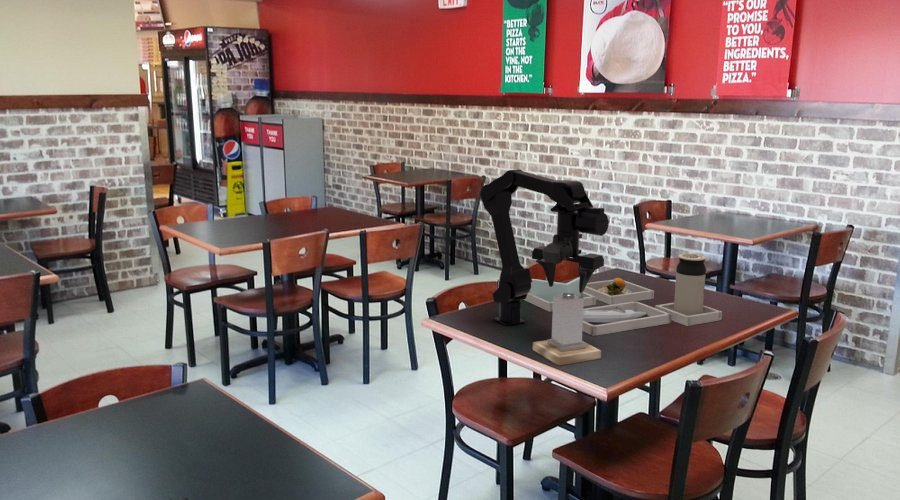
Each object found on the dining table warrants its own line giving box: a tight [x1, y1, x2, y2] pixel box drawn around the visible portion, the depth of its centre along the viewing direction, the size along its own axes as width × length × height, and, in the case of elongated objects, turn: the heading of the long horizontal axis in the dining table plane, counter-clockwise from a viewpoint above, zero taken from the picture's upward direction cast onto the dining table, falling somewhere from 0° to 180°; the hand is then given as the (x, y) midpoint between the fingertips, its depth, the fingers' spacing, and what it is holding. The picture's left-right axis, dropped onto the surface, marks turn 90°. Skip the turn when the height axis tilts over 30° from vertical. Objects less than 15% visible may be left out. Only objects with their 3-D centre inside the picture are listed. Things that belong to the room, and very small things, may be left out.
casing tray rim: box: [582, 301, 672, 337], centre depth 207 cm, size 15×27×2 cm, turn 116°
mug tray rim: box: [654, 302, 723, 327], centre depth 212 cm, size 13×13×2 cm
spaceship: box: [583, 305, 647, 324], centre depth 209 cm, size 23×7×4 cm, turn 109°
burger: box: [596, 274, 634, 296], centre depth 234 cm, size 12×12×8 cm
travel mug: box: [673, 253, 707, 316], centre depth 210 cm, size 8×8×18 cm
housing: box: [546, 293, 587, 352], centre depth 179 cm, size 6×7×13 cm
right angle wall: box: [531, 276, 581, 302], centre depth 227 cm, size 12×12×8 cm
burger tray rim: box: [583, 279, 655, 305], centre depth 235 cm, size 17×17×2 cm
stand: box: [532, 339, 602, 366], centre depth 181 cm, size 12×12×2 cm
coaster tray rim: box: [522, 289, 597, 312], centre depth 227 cm, size 17×17×2 cm
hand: (565, 289), depth 191 cm, fingers open, 9 cm apart
